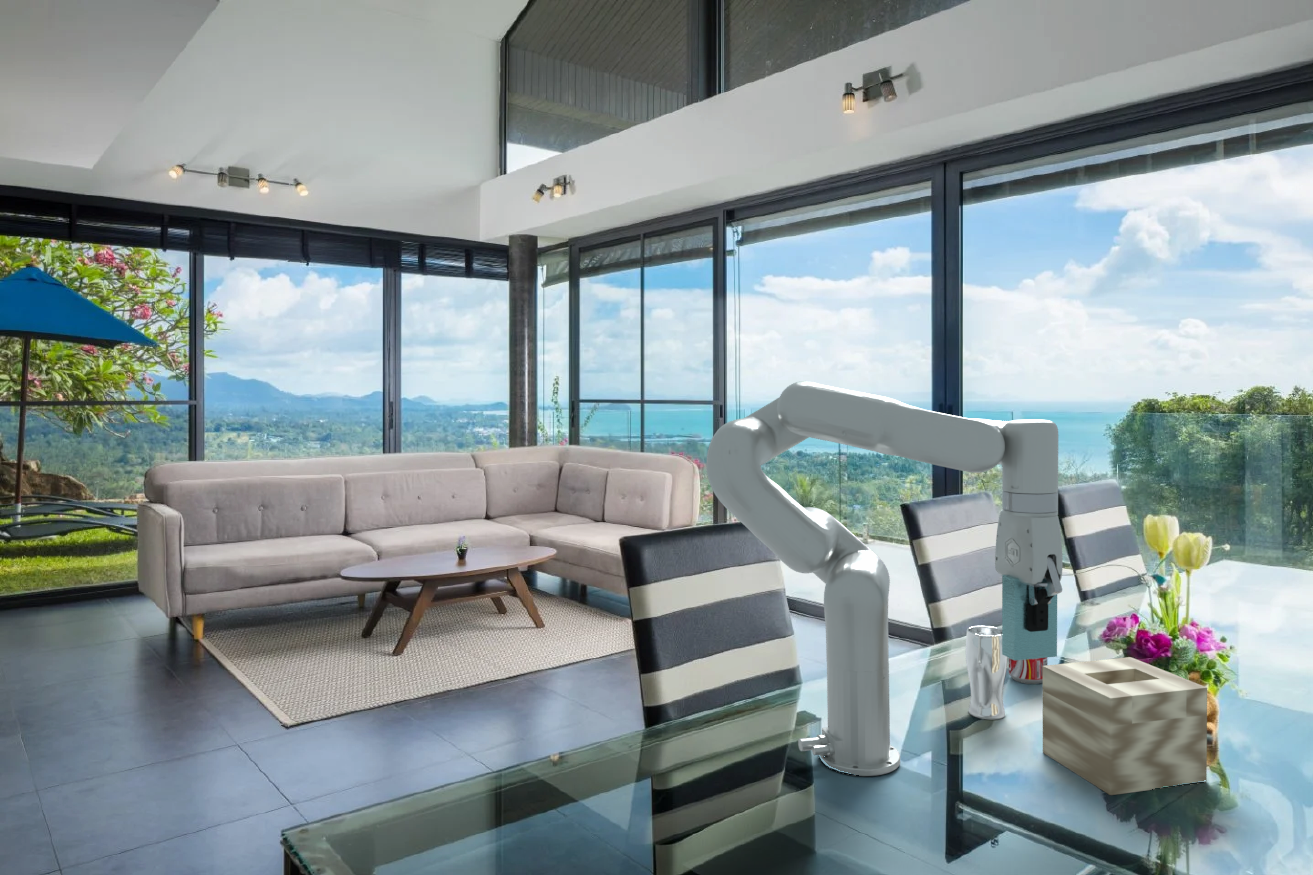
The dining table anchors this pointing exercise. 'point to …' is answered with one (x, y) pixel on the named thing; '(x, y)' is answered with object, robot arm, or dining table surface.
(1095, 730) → the wooden box with hole
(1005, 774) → the dining table surface
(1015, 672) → the soda can
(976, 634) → the chrome pint tumbler
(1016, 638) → the tall teal pillar
